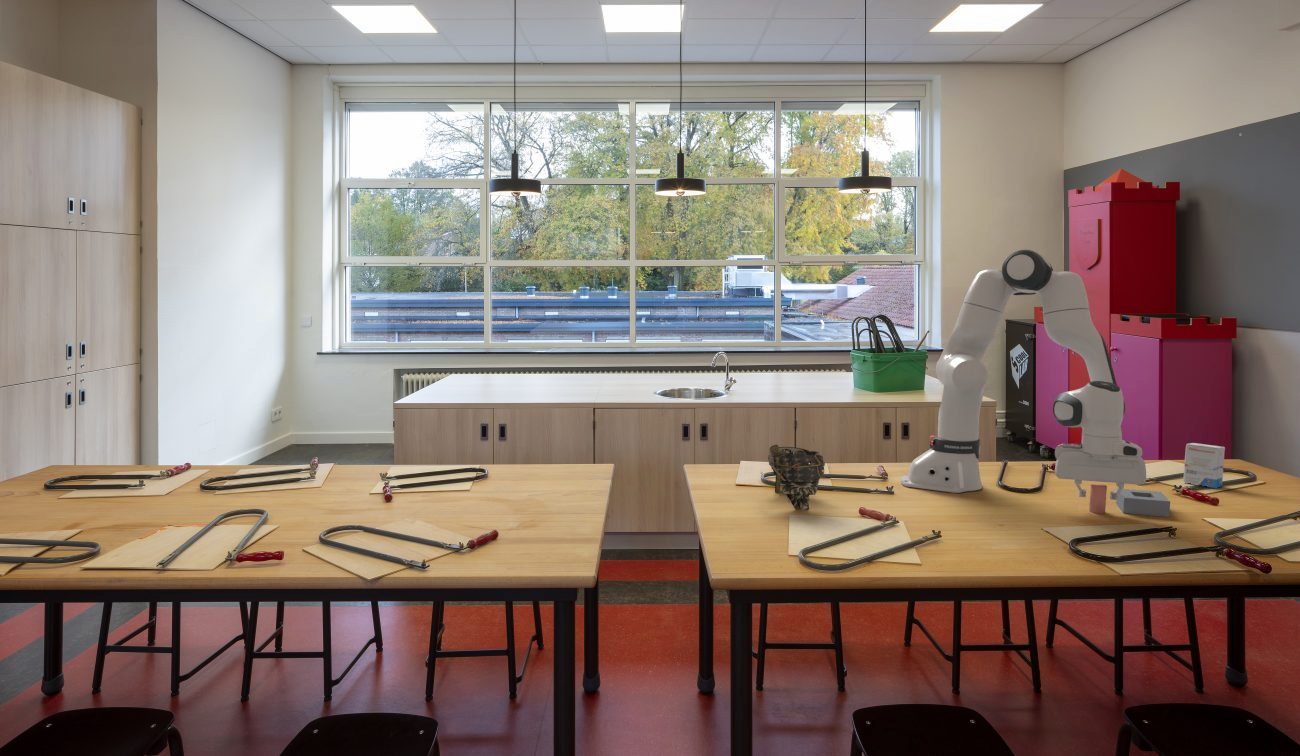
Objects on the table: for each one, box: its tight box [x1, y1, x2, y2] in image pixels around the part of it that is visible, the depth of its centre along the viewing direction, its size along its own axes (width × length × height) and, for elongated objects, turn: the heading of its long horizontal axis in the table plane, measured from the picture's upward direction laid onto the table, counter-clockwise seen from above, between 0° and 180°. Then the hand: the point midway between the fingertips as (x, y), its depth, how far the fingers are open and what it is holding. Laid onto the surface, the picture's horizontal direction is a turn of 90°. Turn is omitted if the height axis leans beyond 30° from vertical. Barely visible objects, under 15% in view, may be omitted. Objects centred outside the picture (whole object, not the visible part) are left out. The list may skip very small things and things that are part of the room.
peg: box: [1088, 483, 1108, 515], centre depth 198 cm, size 4×4×7 cm
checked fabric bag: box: [767, 444, 826, 511], centre depth 211 cm, size 22×15×15 cm
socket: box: [1115, 488, 1171, 518], centre depth 199 cm, size 10×10×4 cm
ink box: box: [1182, 442, 1226, 489], centre depth 224 cm, size 8×5×12 cm, turn 35°
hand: (1097, 498), depth 198 cm, fingers open, 6 cm apart
